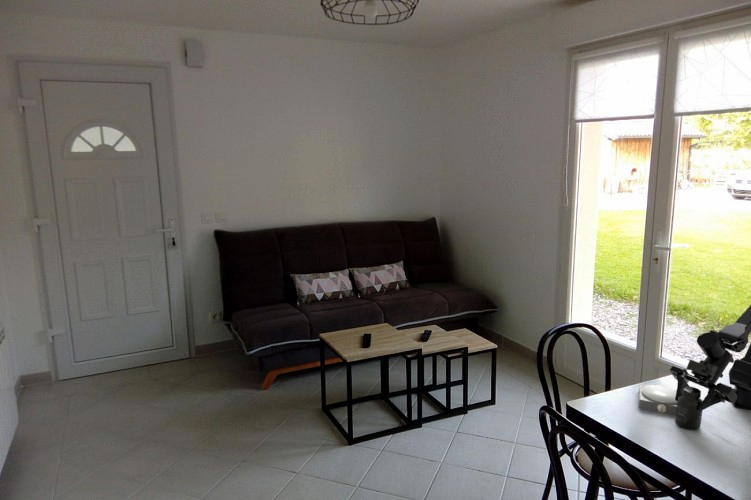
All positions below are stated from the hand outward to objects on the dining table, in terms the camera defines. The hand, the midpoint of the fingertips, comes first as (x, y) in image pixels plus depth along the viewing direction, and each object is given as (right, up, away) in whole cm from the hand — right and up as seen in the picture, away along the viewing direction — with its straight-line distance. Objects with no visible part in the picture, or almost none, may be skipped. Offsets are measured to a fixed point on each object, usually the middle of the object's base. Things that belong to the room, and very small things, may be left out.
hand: (687, 405), depth 160 cm
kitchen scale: (0, -4, +16) cm, 16 cm away
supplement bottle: (+1, -7, +2) cm, 7 cm away
